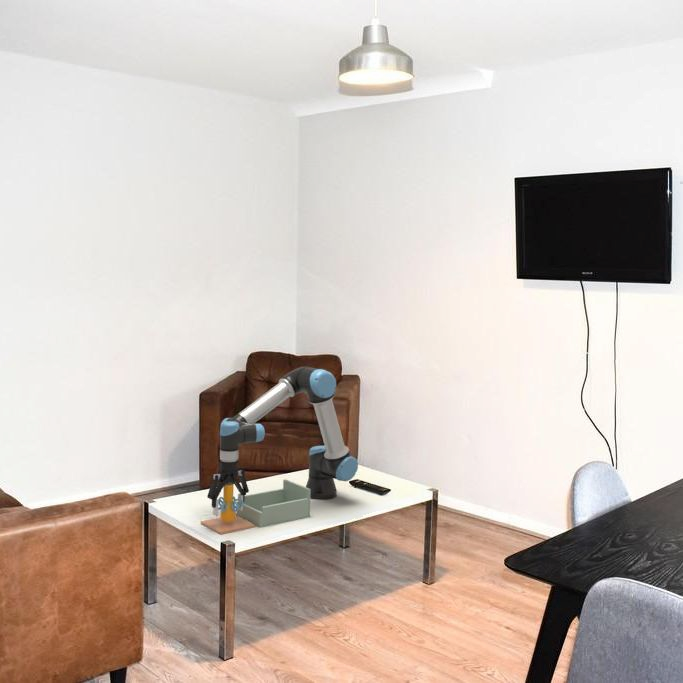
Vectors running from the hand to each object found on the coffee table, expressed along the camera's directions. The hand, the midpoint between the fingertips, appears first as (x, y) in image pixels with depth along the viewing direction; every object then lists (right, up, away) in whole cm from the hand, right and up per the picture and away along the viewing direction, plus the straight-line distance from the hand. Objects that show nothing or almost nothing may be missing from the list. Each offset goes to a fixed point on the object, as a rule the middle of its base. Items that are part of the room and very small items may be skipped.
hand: (228, 512), depth 334 cm
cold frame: (+17, -5, +15) cm, 23 cm away
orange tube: (0, -3, 0) cm, 3 cm away
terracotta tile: (0, -5, +1) cm, 5 cm away
